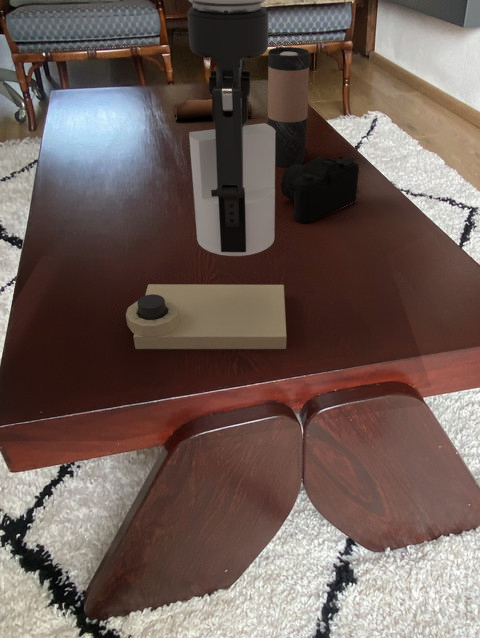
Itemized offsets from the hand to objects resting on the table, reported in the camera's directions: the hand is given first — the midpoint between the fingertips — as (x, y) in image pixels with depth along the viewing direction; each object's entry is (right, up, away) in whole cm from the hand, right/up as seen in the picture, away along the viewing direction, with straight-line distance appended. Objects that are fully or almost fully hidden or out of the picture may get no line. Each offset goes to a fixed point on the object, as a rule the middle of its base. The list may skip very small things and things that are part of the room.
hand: (235, 230), depth 70 cm
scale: (-3, -10, +7) cm, 13 cm away
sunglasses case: (-11, +45, +76) cm, 89 cm away
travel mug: (+6, +26, +53) cm, 59 cm away
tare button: (-10, -9, +3) cm, 14 cm away
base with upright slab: (0, -1, +1) cm, 1 cm away
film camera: (+11, +13, +36) cm, 39 cm away
